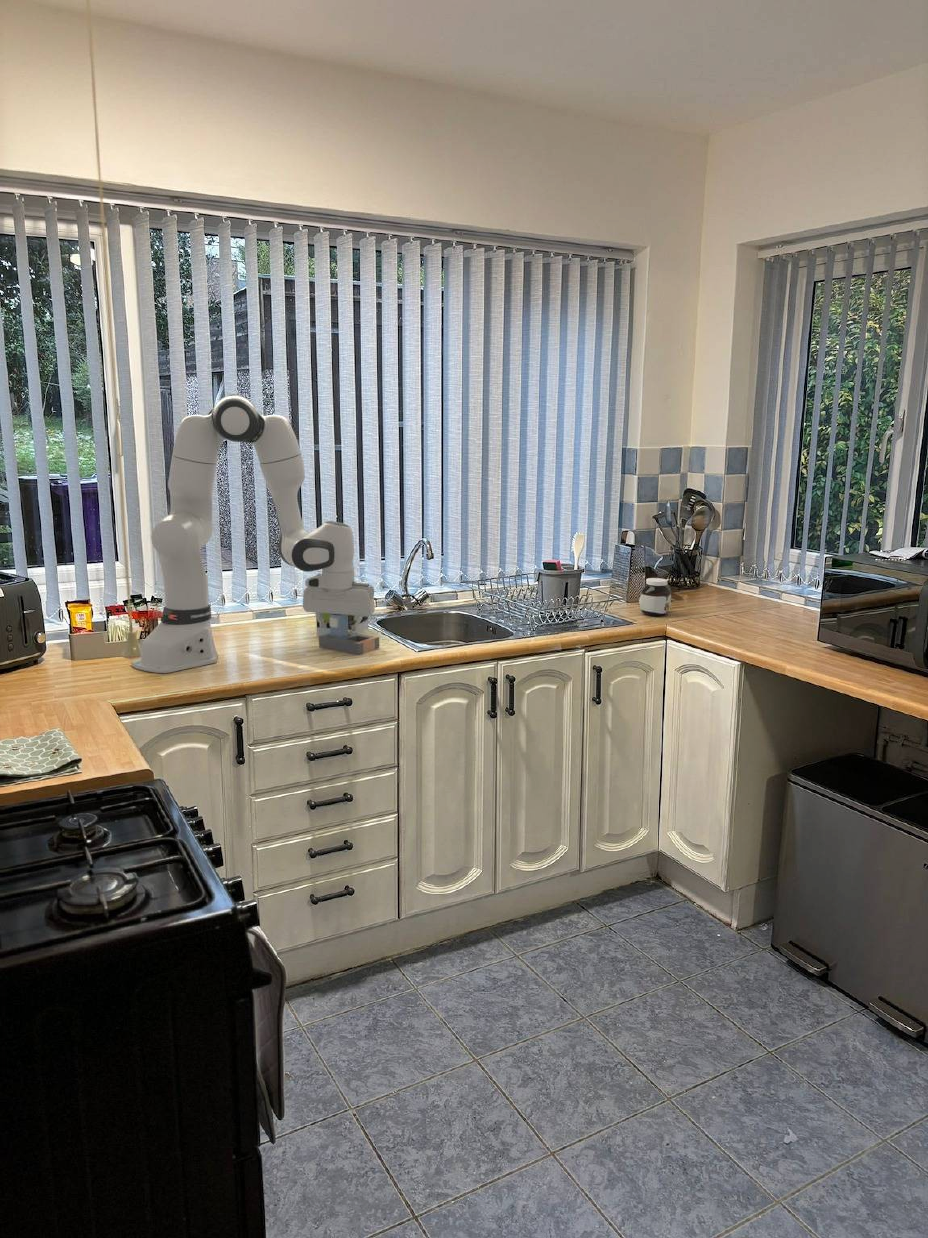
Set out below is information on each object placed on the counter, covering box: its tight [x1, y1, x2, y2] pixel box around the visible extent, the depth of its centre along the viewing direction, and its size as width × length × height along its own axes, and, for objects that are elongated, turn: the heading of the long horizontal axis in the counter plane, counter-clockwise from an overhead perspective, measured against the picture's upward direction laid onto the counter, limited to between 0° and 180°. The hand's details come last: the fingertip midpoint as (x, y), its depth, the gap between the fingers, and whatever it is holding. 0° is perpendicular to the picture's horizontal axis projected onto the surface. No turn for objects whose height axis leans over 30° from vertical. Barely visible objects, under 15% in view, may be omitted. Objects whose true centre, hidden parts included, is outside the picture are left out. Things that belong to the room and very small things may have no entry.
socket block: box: [318, 632, 380, 656], centre depth 258 cm, size 9×14×4 cm, turn 58°
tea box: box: [315, 613, 369, 637], centre depth 274 cm, size 15×10×15 cm
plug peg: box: [330, 614, 348, 638], centre depth 259 cm, size 4×4×9 cm
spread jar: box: [638, 577, 672, 618], centre depth 310 cm, size 12×11×12 cm
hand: (339, 629), depth 259 cm, fingers open, 8 cm apart
